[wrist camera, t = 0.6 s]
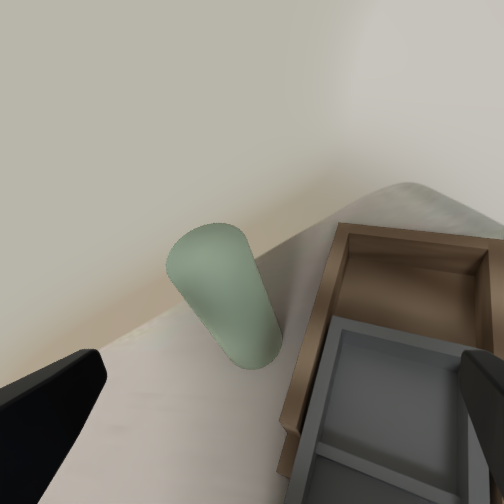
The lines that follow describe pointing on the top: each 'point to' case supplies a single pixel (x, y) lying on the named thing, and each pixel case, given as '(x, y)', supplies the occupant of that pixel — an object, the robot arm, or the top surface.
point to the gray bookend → (388, 423)
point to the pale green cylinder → (226, 292)
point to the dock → (400, 302)
